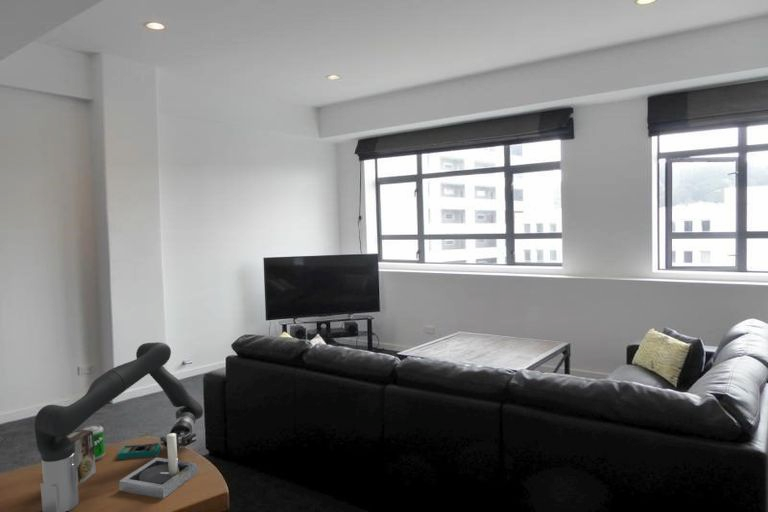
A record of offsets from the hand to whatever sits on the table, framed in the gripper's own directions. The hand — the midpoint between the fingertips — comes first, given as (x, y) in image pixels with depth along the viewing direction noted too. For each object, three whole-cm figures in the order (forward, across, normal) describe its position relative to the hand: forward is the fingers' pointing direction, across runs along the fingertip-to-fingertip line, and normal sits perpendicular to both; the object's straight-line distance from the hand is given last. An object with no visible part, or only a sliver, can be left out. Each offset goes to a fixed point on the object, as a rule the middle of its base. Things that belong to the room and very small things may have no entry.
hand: (174, 449), depth 188 cm
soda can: (-25, -34, +11) cm, 44 cm away
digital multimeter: (-25, -18, +12) cm, 33 cm away
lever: (0, -5, +11) cm, 12 cm away
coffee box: (-9, -34, +11) cm, 37 cm away
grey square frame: (0, -5, +11) cm, 12 cm away
